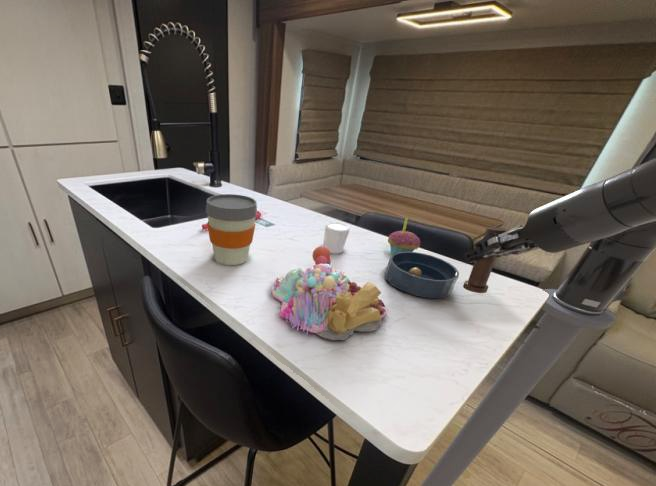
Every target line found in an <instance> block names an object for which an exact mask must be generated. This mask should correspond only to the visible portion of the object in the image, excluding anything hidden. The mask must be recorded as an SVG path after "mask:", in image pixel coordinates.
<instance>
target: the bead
mask: <svg viewBox="0 0 656 486" xmlns="http://www.w3.org/2000/svg"><path fill="white" fill-rule="evenodd" d="M408 273H410V274H412V275H415V276H419V277H421V275H422V272H421V270H420V269H419V268H411V269H410V270H409V272H408Z"/></svg>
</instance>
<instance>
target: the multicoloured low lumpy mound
mask: <svg viewBox="0 0 656 486" xmlns="http://www.w3.org/2000/svg"><path fill="white" fill-rule="evenodd" d="M311 255H312V260H313V261H314V262H315V263H314V265H313V266H312V267H309V268H306V270H305V271H304V270H303V269H302V268H301V267H297V268H295V269H291V270H290V271H288V272H287V273H286V275H285V276H284V277H282V278H280V279H279V278H278V277H276V279H275V281H274V282H275V283H274V285H272V288H271V293H272V294H271V295H272V296H273V297H274V298H275V299H276V300H278V301H279V302H280V303H281V305H280V313H279V316H280V317H281V318H283V319H285V320H286V321H285V322H286V323H288V320H289V323H290V325H291V328H292V330H293V329H294V328H296V327H297V329H296V331H297V332H298V331H299V330H302V332H304V333H305V331H306V335H308V334H309V333H313V334H317V335H318V336H319V337H321V338H324V339H328V340H332V341H338V340H339V341H345V340H348V338H349V336H352V335H353V334H354V331H357V332H373V331H376V330H378V329H379V326H381V325H382V322H383V318H384V317H386V316H387V315H388V310H387V309H385V308H386V305H385V303H384V301H383V300H382V299H380V298H379V296H380V295H381V294H382V291H381V290H380V289H379V288H378V287H377V286H376V285H375V284H374V283H372V282H370V281H367V282H366V283H365V284H363V286H360V285H358V284H357V283H356V282H354V281H352V282H351V280H350V278H349V277H348V276H347V274H345V272H342V270H341V271H340V270H336V269H335V268H334V269H333V267H332V266H331V263H332V259H331V253H330V251H329V250H328V248H326V247H324V246H323V245H320V246H318V247H315V249H313V252H312V254H311ZM299 328H300V329H299Z"/></svg>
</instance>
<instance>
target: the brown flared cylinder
mask: <svg viewBox="0 0 656 486" xmlns="http://www.w3.org/2000/svg"><path fill="white" fill-rule="evenodd" d="M507 231H508V229H506V228H503V227H497V226H487V227H486V229H485V231H484V234H483V237H482V239H483V238H484V237H486V236H487V235H489V234H491V233H493V232H498V235H499V234H502V233H505V232H507ZM497 259H498V258H497V255H496V254H495V255H492V256H489V257H487V258H483V259H480V260H477V261H474V262H473V265H472V268H471V271H470V274H469V277H468V279H467V280H465V281H464V282H463V285H462V287H463V289H465V290H466V291H469V292H472V293H477V294H485V293H487V292H488V290H489V285H488V281H489V278H490V276H491V273H492V270H493V268H494V265H495V262H496V260H497Z"/></svg>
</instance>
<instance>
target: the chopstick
mask: <svg viewBox="0 0 656 486" xmlns="http://www.w3.org/2000/svg"><path fill="white" fill-rule="evenodd" d="M261 216H262V213H261V212H260V211H259V210H257V215H256V217H255V220H256V219H259V218H261ZM207 223H208V222H206V223H202V224H201V231H205V230H208V225H207Z"/></svg>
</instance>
